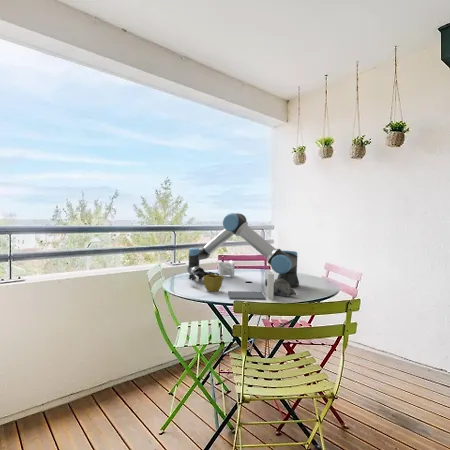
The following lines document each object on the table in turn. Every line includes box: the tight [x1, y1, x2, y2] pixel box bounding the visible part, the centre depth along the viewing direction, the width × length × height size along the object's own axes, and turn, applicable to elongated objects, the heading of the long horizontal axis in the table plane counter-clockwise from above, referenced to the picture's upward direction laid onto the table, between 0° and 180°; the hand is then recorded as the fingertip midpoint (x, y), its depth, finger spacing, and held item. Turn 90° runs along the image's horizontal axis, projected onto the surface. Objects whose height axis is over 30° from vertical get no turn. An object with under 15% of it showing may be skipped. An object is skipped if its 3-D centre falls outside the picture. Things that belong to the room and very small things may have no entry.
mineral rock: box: [273, 278, 297, 297], centre depth 193 cm, size 13×11×10 cm
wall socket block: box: [263, 269, 275, 300], centre depth 191 cm, size 4×12×14 cm, turn 3°
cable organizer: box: [217, 259, 235, 279], centre depth 245 cm, size 15×11×12 cm
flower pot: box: [202, 274, 224, 293], centre depth 202 cm, size 9×9×9 cm
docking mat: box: [227, 290, 267, 301], centre depth 191 cm, size 20×14×1 cm
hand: (208, 278), depth 208 cm, fingers open, 13 cm apart
